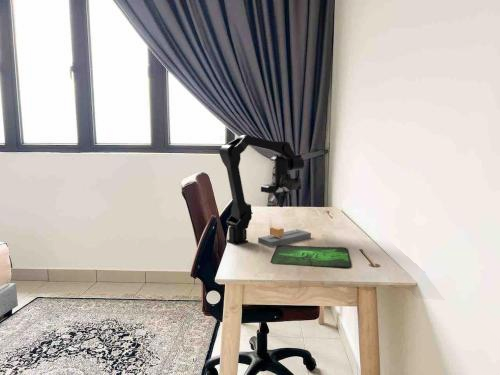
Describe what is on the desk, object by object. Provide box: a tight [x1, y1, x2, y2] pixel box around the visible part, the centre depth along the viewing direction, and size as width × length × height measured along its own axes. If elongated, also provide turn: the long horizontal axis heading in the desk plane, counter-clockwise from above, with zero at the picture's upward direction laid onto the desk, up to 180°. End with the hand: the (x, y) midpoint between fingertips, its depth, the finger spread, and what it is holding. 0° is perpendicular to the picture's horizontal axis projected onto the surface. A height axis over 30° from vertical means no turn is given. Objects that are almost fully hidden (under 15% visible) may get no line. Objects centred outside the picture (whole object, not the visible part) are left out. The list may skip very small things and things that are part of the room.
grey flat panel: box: [257, 228, 312, 248], centre depth 156 cm, size 22×8×2 cm, turn 128°
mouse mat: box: [269, 244, 352, 269], centre depth 136 cm, size 27×22×1 cm
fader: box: [269, 225, 285, 237], centre depth 153 cm, size 3×5×4 cm
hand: (281, 207), depth 164 cm, fingers closed
